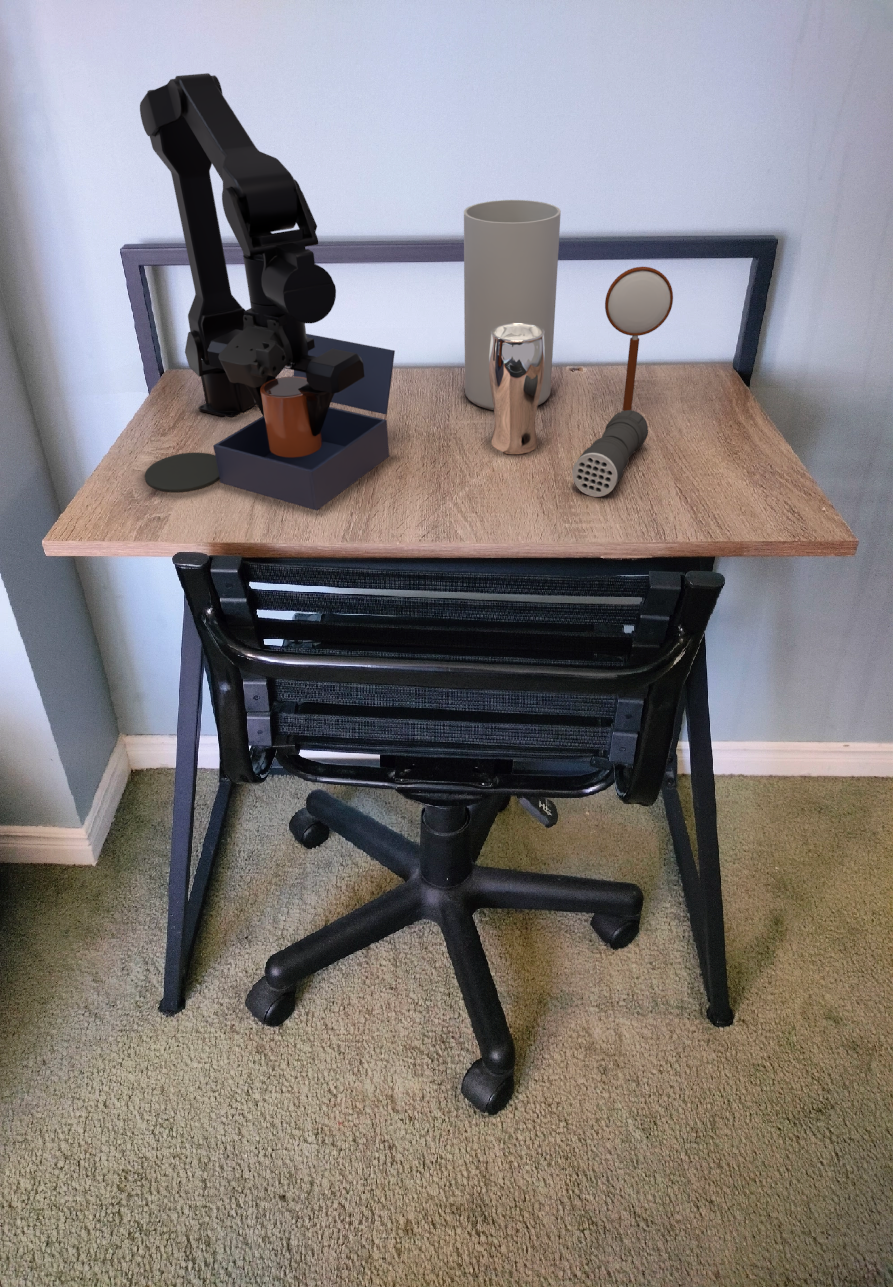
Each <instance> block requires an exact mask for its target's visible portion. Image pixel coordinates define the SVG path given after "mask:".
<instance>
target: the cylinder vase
mask: <svg viewBox="0 0 893 1287" xmlns="http://www.w3.org/2000/svg"><path fill="white" fill-rule="evenodd" d="M560 230H561V208H559V207H558V206H556V205H554V204H551V203H547V202H543V201H537V200H528V199H527V200H526V199H501V200H490V201H485V202H479V203H474V204H472V205H469V206H467V207H466V208H464V210H463V297H464V298H463V302H464V303H463V304H464V305H463V306H464V307H463V309H464V310H463V312H464V313H463V314H464V317H463V319H464V323H463V324H464V392H465V393H464V394H465V396H466V398H467V399H468V401H470V402H471V403H472V404H474V405H476V406H478V407H480V408H483V409H487V410H491V411H494V405H493V400H492V394H491V387H490V379H489V351H490V340H491V330H492V329H493V328H494V327H496V326H498V325H502V324H506V323H529V324H534V325H537V326H539V327H541V328H542V329H543V330H544V346H545V366H544V377H543V383H542V388H541V392H540V397H539V401H538V406H540V405H541V404H542V405H543V403H545V402H546V401H547V400H548V398H549V397H550V395H551V390H552V371H553V354H554V353H553V352H554V336H555V333H554V332H555V317H556V304H557V303H556V301H557V286H558V285H557V284H558V266H559V248H560Z"/></svg>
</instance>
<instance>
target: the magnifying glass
mask: <svg viewBox="0 0 893 1287" xmlns="http://www.w3.org/2000/svg"><path fill="white" fill-rule="evenodd" d="M673 291H674V290H673V287H672V284H671V283H670V281H669V279H668V278H667V277H666V275H665V274H664V273H663V272H661V271H659V270H657V269H656V268H653V267H650V266H637V267H632V268H629V269H627V270H625V271H624V272H622V273H620V274H619V275H618V276H617V277H616V278H615V279H614V280H613V281H612V283H611V284H610V285H609V287H608V290H607V292H606V295H605V300H604V309H605V310H604V311H605V314H606V317H607V320H608V322H609V324H610V325H611V326H612V327H613V328H614V329H615V330H616V331H618V332H619V333H621V334H623V335H626V336H630V338H629V345H628V346H629V347H628V355H627V366H626V367H627V368H626V374H625V375H626V376H625V383H624V394H623V403H622V411H626V410H633V409H632V407H633V398H634V391H635V381H636V373H637V365H638V364H637V363H638V354H639V345H640V337H639V336H645V335H647V334H650V333H652V332H654V331H656V330H657V329H658V328H659V327H661V326H662V325H663V324H664V323H665V322H666V320H667V318H668V317H669V315H670V313H671V311H672V308H673V303H674V292H673Z"/></svg>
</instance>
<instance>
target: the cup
mask: <svg viewBox="0 0 893 1287" xmlns="http://www.w3.org/2000/svg"><path fill="white" fill-rule="evenodd" d="M307 383H308V382H307V379H306V378H304V377H295V376H281V377H276V379H273V380H270V381H268V382H266V383H264V384H263V385H262V386H261V388H260V392H261V398H262V405H263V411H264V418H265V424H266V431H267V437H268V443H269V449H270V451H271V452H272V453H273V454H275V455H278V456H281V457H302V456H307V455H310V454H312V453H314V452H316V451H318V450H319V449H320V448H321V447H322V436H321V432H320V434H318V435H317V436H313V435H312V431H311V427H310V422H309V414H308V407H307V400H306V397H305V396H304V395H303V394H302V393H301V392H300V391H299V390H298V389H299V388H300V387H302V386H304V385H306V384H307Z"/></svg>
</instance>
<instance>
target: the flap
mask: <svg viewBox="0 0 893 1287" xmlns="http://www.w3.org/2000/svg"><path fill="white" fill-rule="evenodd" d="M306 337H307V338H312V339H314V344H315V348H313V349H311V350H309V351H308V355H310V356H314V357H318V356H320V355H322V354H324V353H326V352H327V351H329V350H331V349H337V350H342V351H347V352H352V353H357V354H358V355H359V356H360V357H361V358H362V361H363V365H364V377H363V378H362V379H360V380H358V381H357V382H355V383H354V384H352V385H350V386H349V387H347V388H346V389H344V390H342V391H341V392H339V393H335V394H334V396H333V398H332V401H331V403H332V404H338V405H341V406H345V407H346V406H347V407H350V408H355V409H358V410H364V411H368V412H372V413H377V414H381V415H388V410H389V409H388V408H389V401H390V392H391V385H392V376H393V368H394V361H395V352H396V350H394V349H388V348H384V347H379V346H373V345H369V344H362V343H358V342H353V341H347V340H341V339H337V338H332V337H326V336H321V335H316V334H312V333H311V334H310V333H306ZM293 376H295V377H304V378H306V373H305V372H300V371H295V370H293Z"/></svg>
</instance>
